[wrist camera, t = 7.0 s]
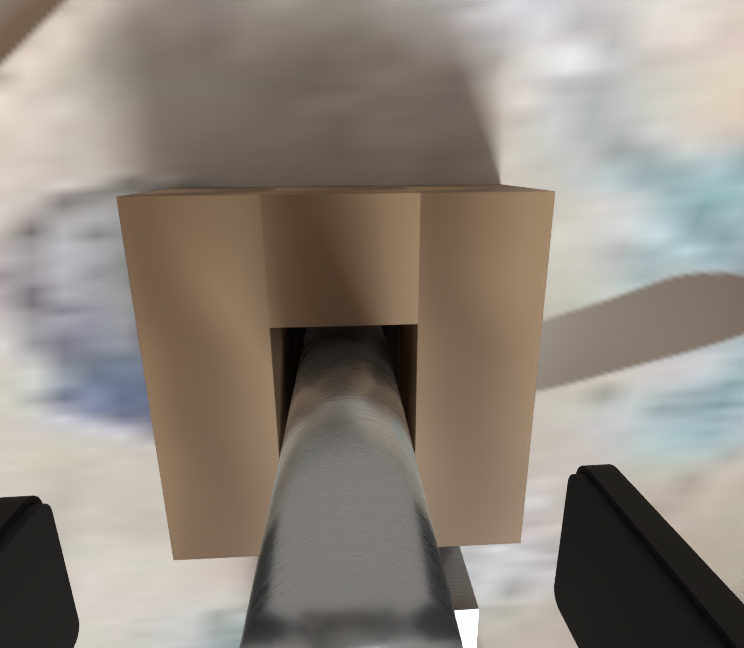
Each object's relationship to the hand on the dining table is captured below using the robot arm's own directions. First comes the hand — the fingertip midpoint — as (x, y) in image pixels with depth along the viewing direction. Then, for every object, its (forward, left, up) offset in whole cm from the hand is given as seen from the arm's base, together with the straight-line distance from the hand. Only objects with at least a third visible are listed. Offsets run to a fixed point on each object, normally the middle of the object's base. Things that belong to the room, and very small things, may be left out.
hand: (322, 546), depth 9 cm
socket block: (-1, 0, -12) cm, 12 cm away
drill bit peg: (-1, 0, -12) cm, 12 cm away
